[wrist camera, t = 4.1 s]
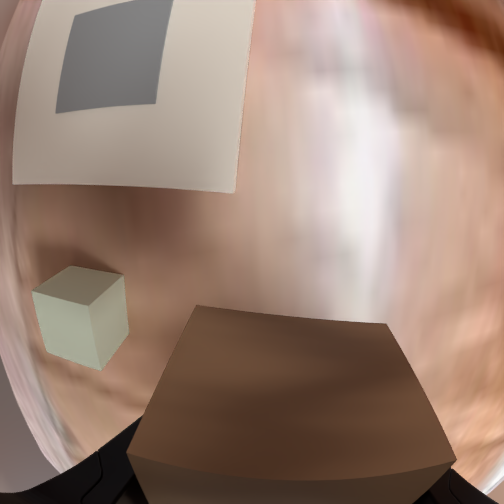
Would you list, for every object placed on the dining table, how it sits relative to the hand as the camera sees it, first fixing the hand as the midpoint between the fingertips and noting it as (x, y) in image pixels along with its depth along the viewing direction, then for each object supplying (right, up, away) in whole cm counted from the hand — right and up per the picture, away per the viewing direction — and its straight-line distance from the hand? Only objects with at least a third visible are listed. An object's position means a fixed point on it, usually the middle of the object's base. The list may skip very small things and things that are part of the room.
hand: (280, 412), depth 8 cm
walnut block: (0, 0, +1) cm, 1 cm away
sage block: (-11, +1, +11) cm, 16 cm away
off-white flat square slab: (-9, +16, +6) cm, 20 cm away
